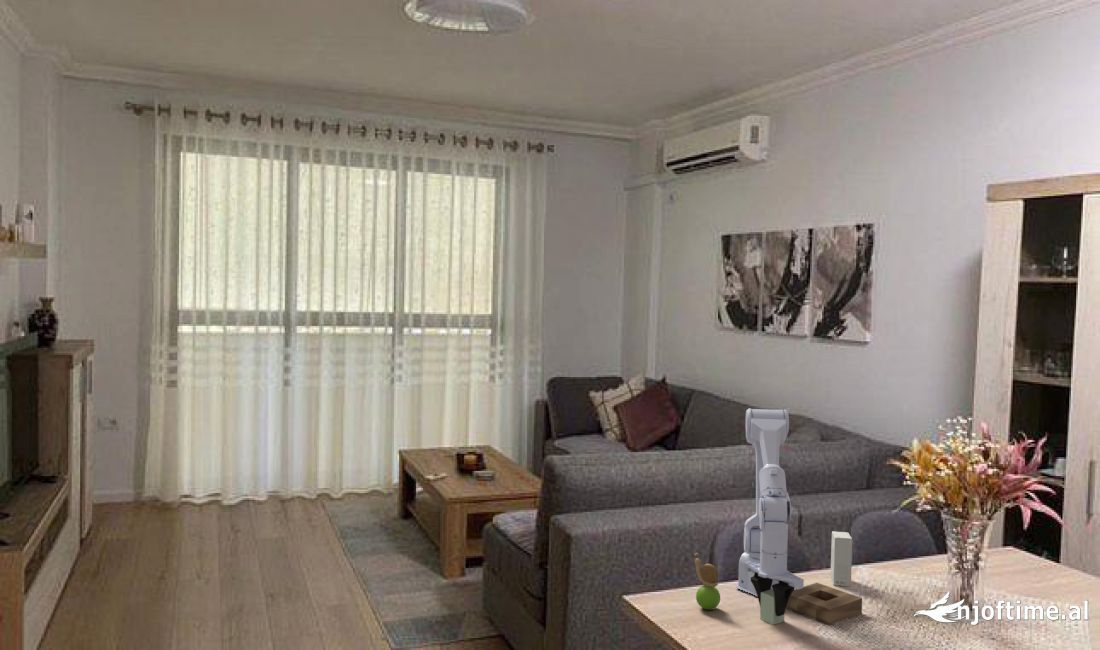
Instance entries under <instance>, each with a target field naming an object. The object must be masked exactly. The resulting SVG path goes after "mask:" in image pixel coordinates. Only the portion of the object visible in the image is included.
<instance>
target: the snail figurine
mask: <svg viewBox="0 0 1100 650" xmlns="http://www.w3.org/2000/svg"><path fill="white" fill-rule="evenodd" d="M694 556H695V558H694V564H695V568H696V569H695V570H696V571H695V572H696V574H697V577H698V580H699V582H700V583H702V585H701V586H700V587H699V588H698V589H696V594H695V599H696V602H697V604H698V605H699V607H701V608H702V609H704V610H708V611H709V610H714V609H716V608H717V607H718V605H720V601H721V594H720V593H721V592H720V591H719V590H718V589H717V586H718V585H719V583H718V582H717V580H718V578H719V572H718V569H717V567H716V566H715V565H713V564H711V563H705V564H703V565H702V566H701V563H702V560H701V558H698V557H697V556H699V552H696V553H694Z"/></svg>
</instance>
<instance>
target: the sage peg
mask: <svg viewBox="0 0 1100 650" xmlns="http://www.w3.org/2000/svg"><path fill="white" fill-rule="evenodd" d="M759 608H760V612H759V613H760V617H759V619H760V620H761V621H763V622H766V623H768V624H771V625H777V624H779V623H780V624H781V623H782V622H784V621H785V614H784V615H781V616H776V613H775V596H774V591H773V589H770V590H767V591H764V592H761V607H760V606H759Z"/></svg>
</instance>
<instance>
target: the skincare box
mask: <svg viewBox="0 0 1100 650" xmlns="http://www.w3.org/2000/svg"><path fill="white" fill-rule="evenodd" d="M830 545H831V549H830V550H831V551H830V552H831V553H830V557H831V558H830V576H831V577H830V579H832V580H831V581H832V585H834V586H839V585H841V586H842V587H851V586H852V565H853V563H852V562H853V558H852V556H853V538H852V536H851V535H850V533H849V532H848V531H847V532H846V531H835V530H834V531H833V530H832V532H831V544H830Z"/></svg>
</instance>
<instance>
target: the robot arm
mask: <svg viewBox="0 0 1100 650" xmlns="http://www.w3.org/2000/svg"><path fill="white" fill-rule="evenodd" d="M744 422H745V439H746V442H747V443H749V444H750V445H752V446H753V449H754V451H755V513H754V514H753V515H751V516H750V517H748V518H747V519H746V520H745V522H744V529H743V551H744V552H743V553H742V554H741V556H740V558H739V561H738V584H737V586H735V589H736V588H737V589H736V590H738V589H740V590H739V591H741V590H743V591H742V592H744V591H746V592H748V593H747V594H749V593H751V594H753V595H752V596H754V595H755V597H757V598H758V603H759V608H760V607H761V592H764V591H767V590H770V589H773V591H774V596H775V613H776V616H781V615H784V616H785V612H786V610H787V609H786V606H787V603H788V600H789V598H790V596H791V594H792V592H793V591H794V590H795V589H797V590H798V589H802V588H803V587H804V586H805V585H804V582H805V581H804V578H801V577H799V576H797V575H795V574H794V573H792V572H790V571H789V570H788V544H789V543H788V535H789V533H788V532H789V531H788V530H789V529H788V528H789V524H790V523H791V517H792V502H791V498H790V496H789V495H790V494H789V492H788V491H787V481H786V472H785V470H784V469H783V468H782V467H781V466H780V446H781V445H784V444H785V441H786V440H787V437H788V434H789V432H790V431H789V429H790V415H789V411H788V410H787V409H764V408H763V409H762V408H759V409H758V408H750V407H749V408H748V409H746V411H745V421H744ZM756 526H759V527H756ZM746 592H745V593H746ZM751 594H750V595H751Z"/></svg>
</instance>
